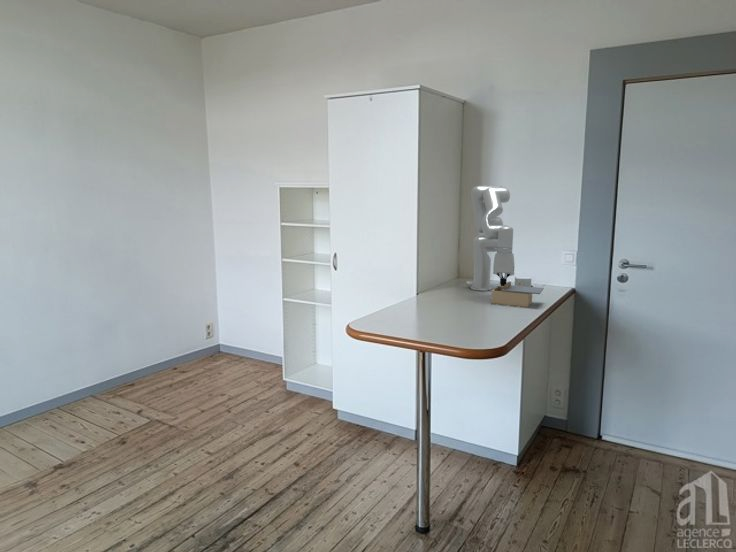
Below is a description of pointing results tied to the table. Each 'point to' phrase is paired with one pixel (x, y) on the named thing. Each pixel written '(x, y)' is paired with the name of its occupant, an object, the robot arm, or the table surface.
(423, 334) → the table surface
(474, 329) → the table surface
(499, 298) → the tray
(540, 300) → the table surface
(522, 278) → the small box
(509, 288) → the lid
